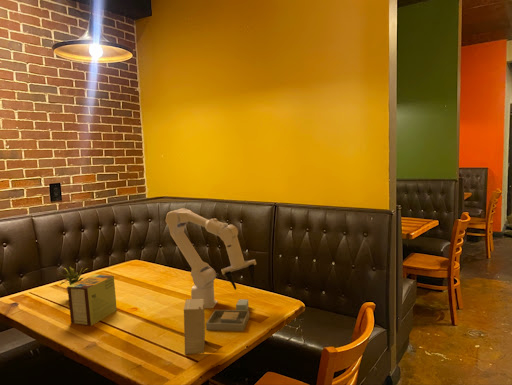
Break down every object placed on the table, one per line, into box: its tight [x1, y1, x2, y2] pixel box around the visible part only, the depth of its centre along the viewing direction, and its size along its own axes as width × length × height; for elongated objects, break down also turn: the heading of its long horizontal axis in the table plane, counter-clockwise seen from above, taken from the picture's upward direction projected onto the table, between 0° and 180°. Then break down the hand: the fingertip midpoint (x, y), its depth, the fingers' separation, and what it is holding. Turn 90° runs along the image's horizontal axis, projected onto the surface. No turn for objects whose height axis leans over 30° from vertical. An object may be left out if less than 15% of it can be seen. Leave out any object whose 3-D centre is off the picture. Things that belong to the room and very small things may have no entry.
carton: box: [235, 298, 250, 311], centre depth 154 cm, size 4×6×4 cm, turn 172°
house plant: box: [59, 266, 89, 293], centre depth 175 cm, size 14×14×16 cm
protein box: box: [66, 273, 118, 327], centre depth 155 cm, size 10×15×16 cm
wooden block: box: [221, 312, 240, 324], centre depth 142 cm, size 6×6×4 cm
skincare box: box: [183, 298, 206, 355], centre depth 126 cm, size 8×7×16 cm
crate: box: [205, 309, 251, 332], centre depth 143 cm, size 14×12×3 cm
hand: (244, 286), depth 154 cm, fingers open, 7 cm apart
